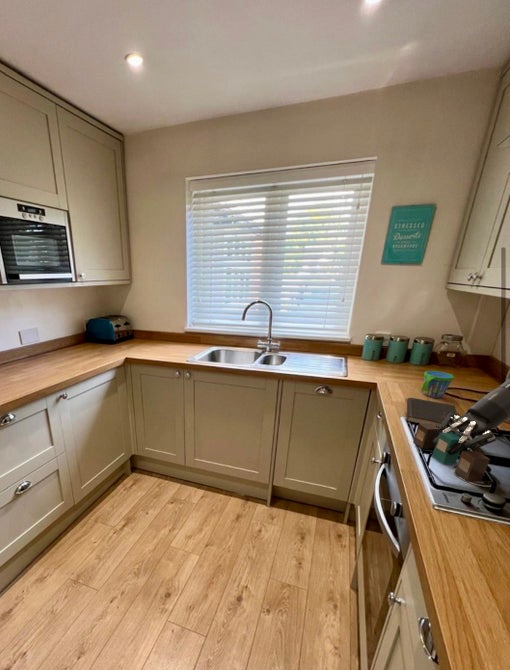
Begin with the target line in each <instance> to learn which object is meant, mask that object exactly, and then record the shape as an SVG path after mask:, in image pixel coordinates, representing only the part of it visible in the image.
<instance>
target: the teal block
mask: <svg viewBox="0 0 510 670" xmlns="http://www.w3.org/2000/svg"><path fill="white" fill-rule="evenodd" d="M461 437H462V436H460V435H456V434H455V433H453V432H452V431H451V432H449V433H442V432H440V433H439V437H438V440H437V443H436V446H435V449H433V452H432V455H431V457H432V458H433V459H435V460H436V461H438V462H439V463H441V464H442V465H451V464H454V465H455V464H457V463H458V460H459V457H460V454H461V452H462V450H460V451H459V452H458V453H456V454H454V455H451V456H450V455H449V454H448V453H447V452H446V449H447V448H449V447H450V446H452V445H453V444H454V443H456V442H459V440H460V438H461Z"/></svg>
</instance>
